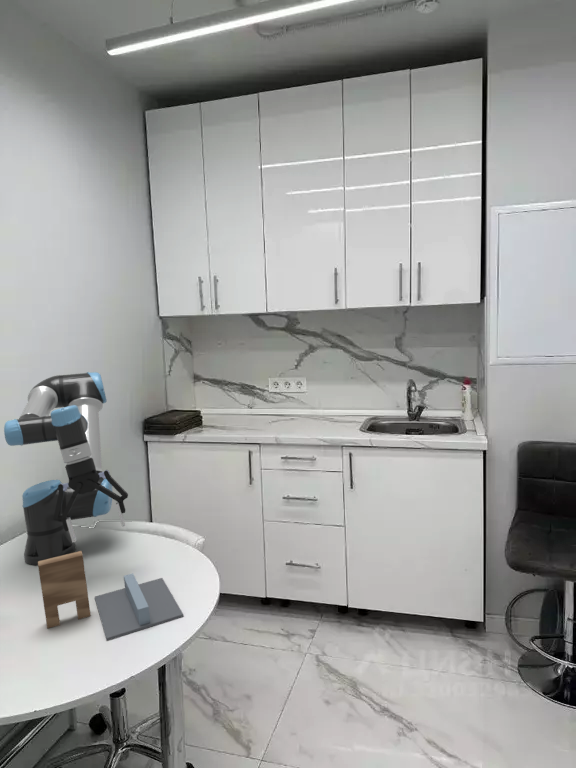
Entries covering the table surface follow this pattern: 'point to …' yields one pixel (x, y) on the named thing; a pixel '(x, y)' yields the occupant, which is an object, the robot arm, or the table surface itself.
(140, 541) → the table surface
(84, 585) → the brown notched block
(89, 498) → the robot arm
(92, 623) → the table surface
